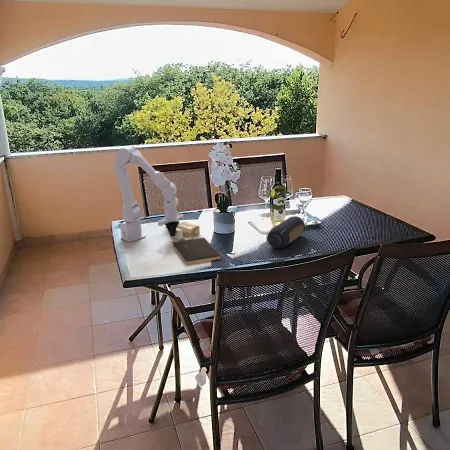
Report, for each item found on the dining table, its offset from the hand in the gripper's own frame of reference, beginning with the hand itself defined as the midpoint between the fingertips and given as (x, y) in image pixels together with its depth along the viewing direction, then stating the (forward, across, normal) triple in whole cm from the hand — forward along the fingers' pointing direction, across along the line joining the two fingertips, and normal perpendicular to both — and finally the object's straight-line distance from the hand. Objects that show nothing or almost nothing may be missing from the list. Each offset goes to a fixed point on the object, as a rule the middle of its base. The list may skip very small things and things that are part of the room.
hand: (172, 236), depth 206 cm
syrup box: (+2, +13, +16) cm, 21 cm away
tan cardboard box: (+2, +5, 0) cm, 5 cm away
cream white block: (+1, +3, -1) cm, 4 cm away
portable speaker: (+2, +34, -43) cm, 55 cm away
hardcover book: (+2, -3, -20) cm, 20 cm away
